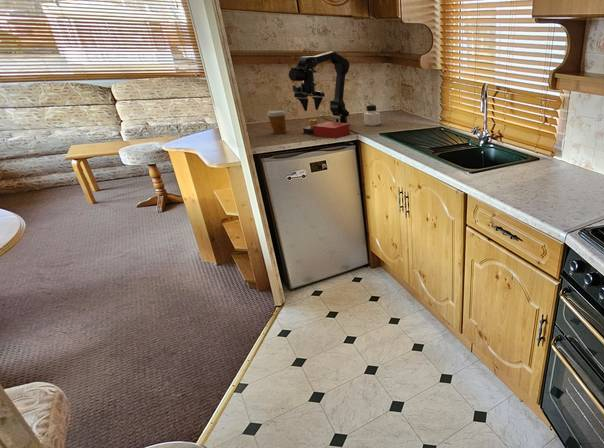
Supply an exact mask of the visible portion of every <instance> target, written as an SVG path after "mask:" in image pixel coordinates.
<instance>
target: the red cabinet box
mask: <svg viewBox="0 0 604 448" xmlns="http://www.w3.org/2000/svg"><path fill="white" fill-rule="evenodd" d="M313 132H314V135H313V136H314V137H320V138H330V139H338V138H342V137H344V136H347V135H350V134H351V129H350V125H348V126H344V127H341V128H337V129H326V128H317V127H313Z"/></svg>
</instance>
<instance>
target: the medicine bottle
mask: <svg viewBox="0 0 604 448" xmlns="http://www.w3.org/2000/svg"><path fill="white" fill-rule="evenodd" d="M365 109H366V112H364V113H363V121H364V125H365V126H371V127H373V126H379V125H381V123H382V122H381V113H380V112H377V106H376V105H375V104H367V105H365Z"/></svg>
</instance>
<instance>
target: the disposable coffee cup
mask: <svg viewBox="0 0 604 448" xmlns="http://www.w3.org/2000/svg"><path fill="white" fill-rule="evenodd" d="M266 116H267V117H268V121H269V123H270V126H271V129H272V132H273V134H274V135H282V134H286V133H287V127H286V125H287V124H286V112H285V110H283V109H272V110H268V111H267V112H266Z"/></svg>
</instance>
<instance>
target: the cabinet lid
mask: <svg viewBox="0 0 604 448" xmlns="http://www.w3.org/2000/svg"><path fill="white" fill-rule="evenodd" d="M340 118H341V117H340V116H333V115H331V119H332V121H325V122H322V123H318V124H317V125H313V127H317V128H326V129H337V128H341V127H344V126H348V125H349V126H351V124H350V123H348V122H347V123H340ZM336 119H338V121H339V122H336Z"/></svg>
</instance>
